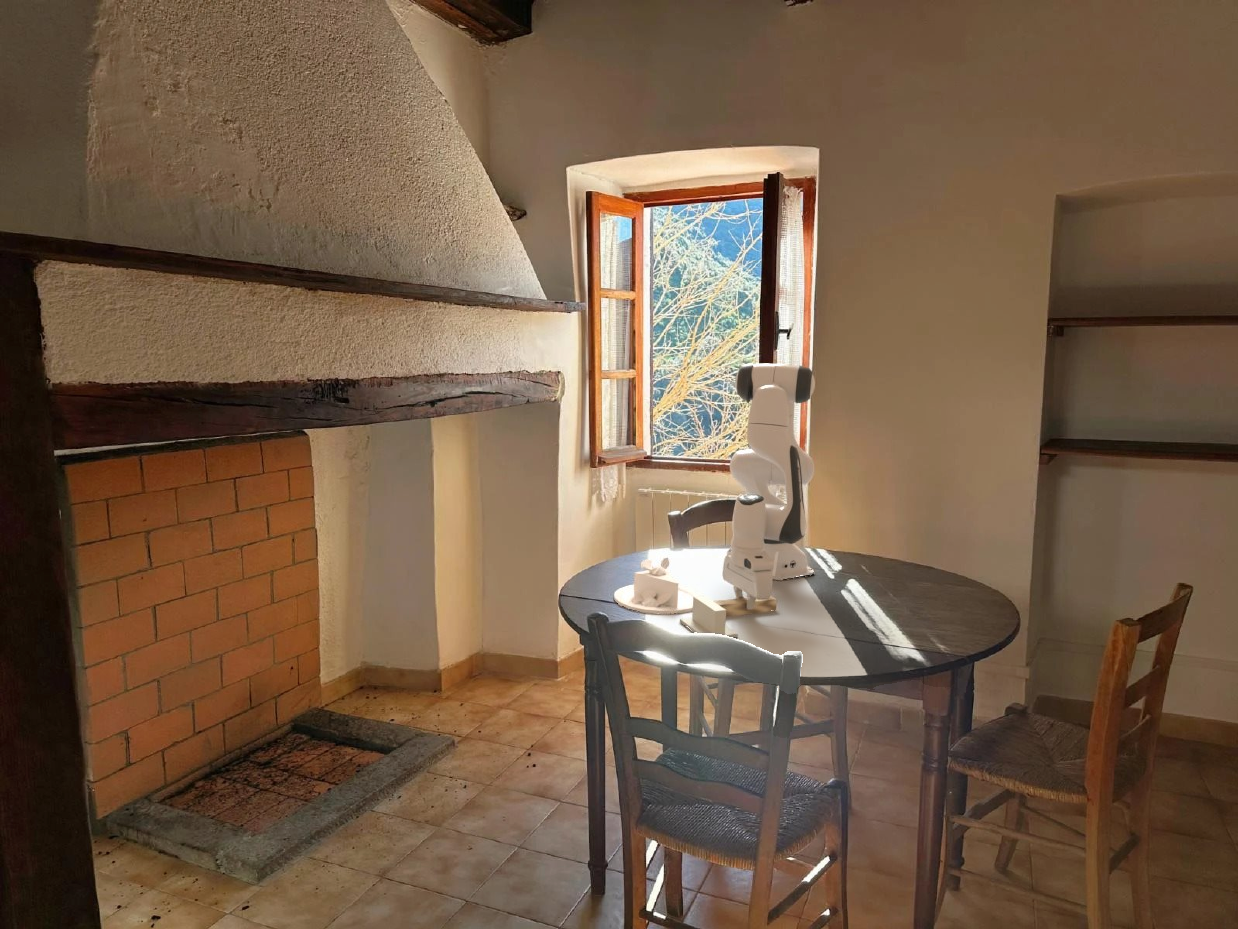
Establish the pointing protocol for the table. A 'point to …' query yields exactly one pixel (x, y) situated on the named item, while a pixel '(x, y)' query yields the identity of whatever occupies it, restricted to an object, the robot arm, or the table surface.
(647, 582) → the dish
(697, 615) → the ridge block
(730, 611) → the beech bar
